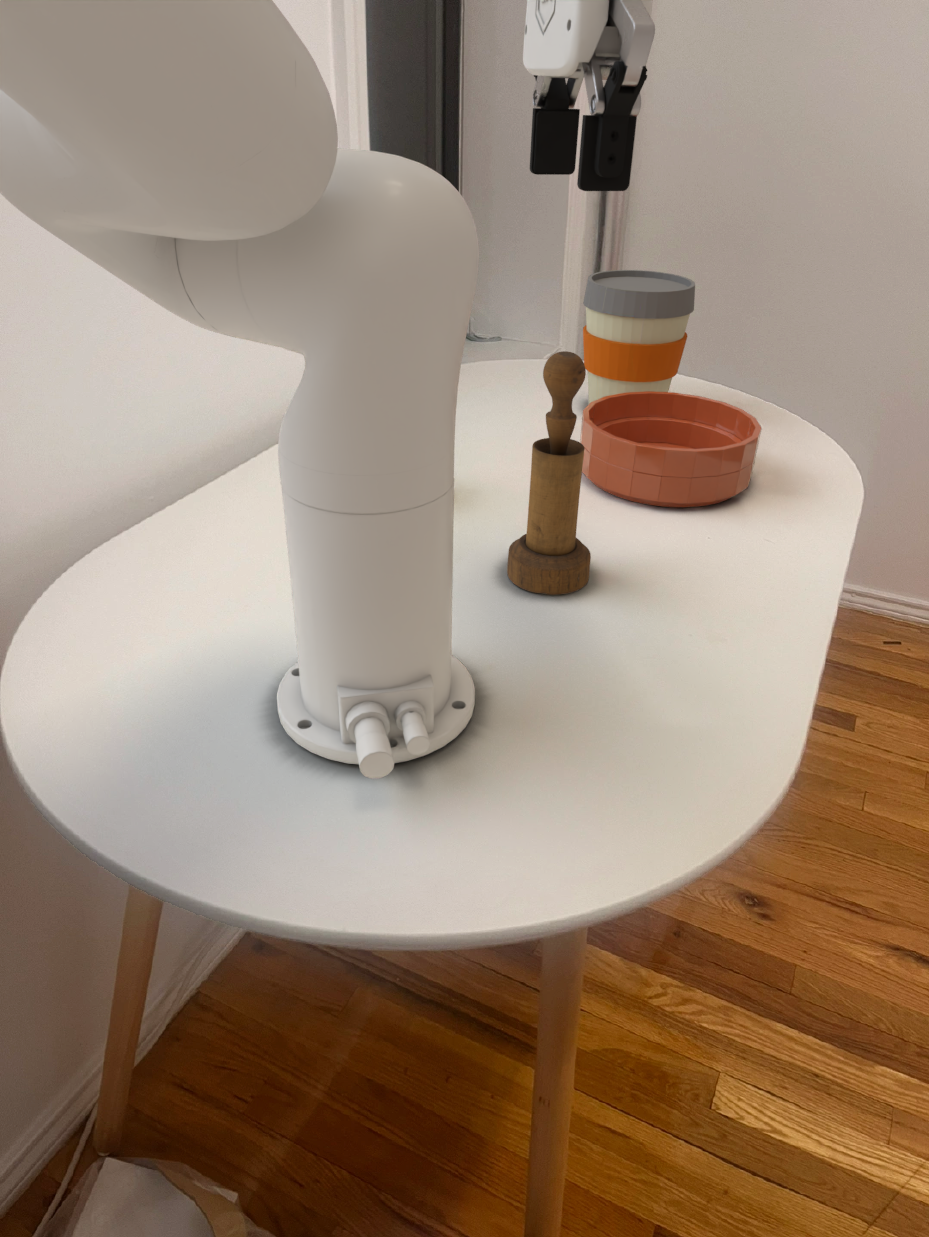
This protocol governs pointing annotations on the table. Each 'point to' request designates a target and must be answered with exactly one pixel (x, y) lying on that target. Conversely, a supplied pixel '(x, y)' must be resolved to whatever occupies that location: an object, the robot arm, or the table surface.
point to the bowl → (668, 448)
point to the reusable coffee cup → (634, 330)
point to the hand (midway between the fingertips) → (575, 181)
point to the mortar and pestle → (554, 494)
